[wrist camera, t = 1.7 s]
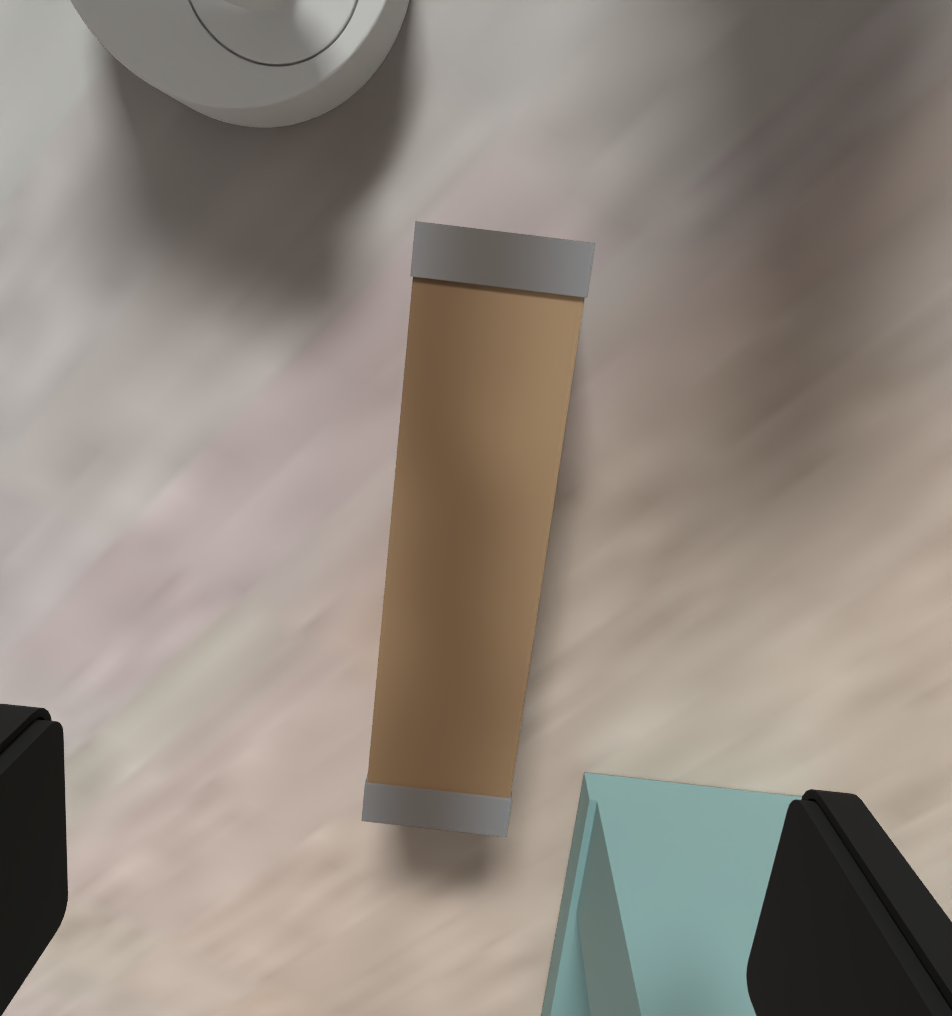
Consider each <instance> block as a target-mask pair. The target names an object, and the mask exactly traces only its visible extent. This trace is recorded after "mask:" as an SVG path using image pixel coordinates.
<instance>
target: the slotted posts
mask: <svg viewBox="0 0 952 1016" xmlns="http://www.w3.org/2000/svg"><path fill="white" fill-rule="evenodd" d="M795 799H797V800H801V799H802V797H798V796H789V795H780V794H771V793H762V792H753V791H744V790H735V789H726V788H718V787H709V786H700V785H691V784H682V783H673V782H664V781H655V780H646V779H637V778H628V777H619V776H610V775H601V774H592V773H584V778H583V783H582V789H581V794H580V800H579V806H578V811H577V817H576V823H575V828H574V834H573V840H572V845H571V851H570V856H569V862H568V868H567V873H566V879H565V885H564V890H563V896H562V902H561V907H560V913H559V919H558V924H557V930H556V935H555V941H554V947H553V952H552V958H551V964H550V969H549V975H548V981H547V986H546V992H545V998H544V1003H543V1009H542V1014H541V1016H756V1013H755V1011H754V1008H753V1005H752V1003H751V1000H750V997H749V993H748V988H747V979H746V972H747V964H748V959H749V955H750V952H751V948H752V944H753V940H754V936H755V932H756V928H757V925H758V921H759V917H760V913H761V909H762V905H763V902H764V898H765V894H766V890H767V886H768V882H769V878H770V875H771V871H772V867H773V863H774V859H775V855H776V851H777V848H778V844H779V840H780V836H781V832H782V828H783V825H784V821H785V817H786V813H787V809H788V807H789V804H790V803H791V802H792V801H793V800H795Z"/></svg>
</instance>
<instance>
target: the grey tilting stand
mask: <svg viewBox="0 0 952 1016" xmlns="http://www.w3.org/2000/svg"><path fill="white" fill-rule="evenodd" d="M71 2H72V4H73V6H74V7H75V9H76V11H77V12H78V14H79V15H80V17H81V18H82V20H83V21H84V23H85V24H86V25H87V27H88V28H89V29H90V31H91V32H92V33H93V35H94V36H95V37H96V38H97V39H98V40H99V42H100V43H101V44H102V45H103V46H104V47H105V48H106V49H107V50H108V51H109V52H110V53H111V54H112V55H113V56H114V57H115V58H116V59H117V60H118V61H119V62H120V63H121V64H123V65H124V66H125V67H126V68H127V69H129V70H130V71H131V72H133V73H134V74H135V75H136V76H138V77H139V78H141V79H142V80H144V81H145V82H147V83H148V84H150V85H152V86H153V87H155V88H157V89H158V90H160V91H162V92H164V93H165V94H167V95H169V96H170V97H172V98H174V99H176V100H177V101H179V102H181V103H183V104H184V105H186V106H188V107H190V108H191V109H193V110H195V111H197V112H199V113H201V114H204V115H206V116H208V117H211V118H213V119H216V120H219V121H222V122H226V123H230V124H234V125H239V126H245V127H256V128H271V127H282V126H288V125H293V124H297V123H301V122H305V121H308V120H310V119H313V118H316V117H318V116H320V115H322V114H325V113H327V112H329V111H330V110H332V109H334V108H336V107H337V106H339V105H340V104H342V103H343V102H345V101H346V100H347V99H349V98H350V97H351V96H352V95H354V94H355V93H356V92H357V91H358V90H359V89H360V88H361V87H362V86H363V85H364V84H366V82H367V81H368V80H369V79H370V78H371V77H372V76H373V75H374V73H375V72H376V71H377V69H378V68H379V67H380V65H381V64H382V63H383V61H384V59H385V58H386V56H387V55H388V53H389V51H390V50H391V48H392V46H393V44H394V42H395V40H396V38H397V36H398V33H399V31H400V29H401V26H402V23H403V21H404V18H405V15H406V11H407V8H408V4H409V0H71Z"/></svg>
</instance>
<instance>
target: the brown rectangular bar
mask: <svg viewBox="0 0 952 1016" xmlns="http://www.w3.org/2000/svg"><path fill="white" fill-rule="evenodd" d="M594 249H595V243H590V242H581V241H573V240H565V239H557V238H549V237H540V236H532V235H524V234H516V233H507V232H499V231H491V230H483V229H475V228H466V227H458V226H450V225H442V224H434V223H425V222H417V221H415V231H414V242H413V254H412V265H411V276H412V277H413V283H412V294H411V305H410V316H409V327H408V338H407V349H406V360H405V371H404V382H403V393H402V404H401V415H400V426H399V437H398V448H397V459H396V470H395V481H394V492H393V504H392V515H391V526H390V537H389V548H388V559H387V570H386V581H385V592H384V603H383V614H382V625H381V636H380V647H379V658H378V669H377V680H376V691H375V702H374V713H373V725H372V736H371V747H370V758H369V769H368V774H367V778H366V782H365V789H364V800H363V811H362V821H366V822H375V823H384V824H393V825H402V826H411V827H420V828H429V829H438V830H447V831H456V832H465V833H474V834H483V835H492V836H502V837H506V836H507V829H508V823H509V816H510V809H511V803H512V793H511V788H512V781H513V774H514V768H515V761H516V754H517V747H518V741H519V734H520V727H521V721H522V714H523V707H524V700H525V694H526V687H527V680H528V674H529V667H530V660H531V653H532V647H533V640H534V633H535V627H536V620H537V613H538V606H539V600H540V593H541V586H542V580H543V573H544V566H545V559H546V553H547V546H548V539H549V533H550V526H551V519H552V512H553V506H554V499H555V492H556V486H557V479H558V472H559V465H560V459H561V452H562V445H563V439H564V432H565V425H566V418H567V412H568V405H569V398H570V392H571V385H572V378H573V371H574V365H575V358H576V351H577V345H578V338H579V331H580V324H581V318H582V311H583V304H584V298H585V297H586V298H587V295H588V289H589V282H590V275H591V269H592V262H593V255H594Z"/></svg>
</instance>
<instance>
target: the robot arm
mask: <svg viewBox="0 0 952 1016" xmlns="http://www.w3.org/2000/svg"><path fill="white" fill-rule="evenodd" d="M67 901H68V880H67V845H66V809H65V774H64V739H63V728H62V726H61V724H60V723H59V722H56V721H51V716H50V714H49V712H48V711H47V710H46V709H44V708H37V707H27V706H18V705H8V704H0V1016H1V1015H2V1014H3V1012H4V1011H5V1009H6V1008H7V1006H8V1005H9V1003H10V1002H11V1000H12V999H13V997H14V996H15V994H16V993H17V991H18V989H19V988H20V986H21V985H22V983H23V982H24V980H25V979H26V977H27V976H28V974H29V973H30V971H31V970H32V968H33V967H34V965H35V964H36V962H37V961H38V959H39V958H40V956H41V954H42V953H43V951H44V950H45V948H46V947H47V945H48V944H49V942H50V941H51V939H52V938H53V936H54V935H55V933H56V932H57V930H58V928H59V926H60V924H61V922H62V920H63V917H64V914H65V911H66V906H67ZM746 979H747V988H748V993H749V997H750V1000H751V1003H752V1005H753V1008H754V1011H755V1013H756V1016H952V922H951V921H950V919H949V918H948V917H947V915H946V914H945V912H944V911H943V910H942V908H941V907H940V906H939V904H938V903H937V902H936V900H935V899H934V898H933V896H932V895H931V894H930V892H929V891H928V889H927V888H926V887H925V885H924V884H923V883H922V881H921V880H920V879H919V877H918V876H917V875H916V873H915V872H914V871H913V869H912V868H911V866H910V865H909V864H908V862H907V861H906V860H905V858H904V857H903V856H902V854H901V853H900V852H899V850H898V849H897V848H896V846H895V845H894V843H893V842H892V841H891V839H890V838H889V837H888V835H887V834H886V833H885V831H884V830H883V829H882V827H881V826H880V824H879V823H878V822H877V820H876V819H875V818H874V816H873V815H872V814H871V812H870V811H869V810H868V808H867V807H866V806H865V804H864V803H863V801H862V800H861V799H860V798H859V797H858V796H857V795H854V794H850V793H841V792H831V791H822V790H813V789H811V790H808V791H806V792H805V794H804V795H803V796H802V799H801V800H797V799H795V800H793V801H792V802H791V803H790V804H789V807H788V809H787V813H786V817H785V821H784V825H783V828H782V832H781V836H780V840H779V844H778V848H777V851H776V855H775V859H774V863H773V867H772V871H771V875H770V878H769V882H768V886H767V890H766V894H765V898H764V902H763V905H762V909H761V913H760V917H759V921H758V925H757V928H756V932H755V936H754V940H753V944H752V948H751V952H750V955H749V959H748V964H747V972H746Z"/></svg>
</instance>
